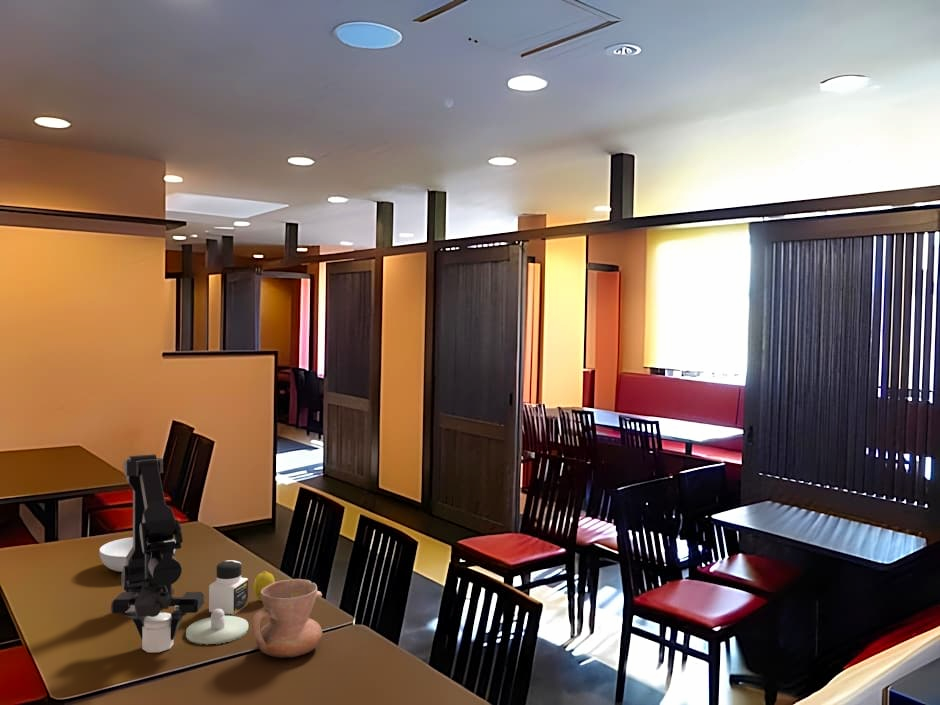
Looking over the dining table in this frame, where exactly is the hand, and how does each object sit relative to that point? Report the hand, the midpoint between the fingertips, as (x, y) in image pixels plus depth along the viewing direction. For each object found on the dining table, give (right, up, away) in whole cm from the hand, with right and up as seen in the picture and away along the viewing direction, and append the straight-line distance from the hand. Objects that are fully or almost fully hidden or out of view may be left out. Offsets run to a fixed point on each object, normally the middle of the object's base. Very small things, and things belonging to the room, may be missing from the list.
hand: (158, 639), depth 162 cm
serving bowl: (-28, +1, +51) cm, 58 cm away
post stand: (+10, -2, +9) cm, 14 cm away
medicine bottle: (+8, -1, +23) cm, 24 cm away
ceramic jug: (+29, -3, 0) cm, 29 cm away
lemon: (+16, -1, +28) cm, 33 cm away
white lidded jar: (0, -2, 0) cm, 2 cm away
